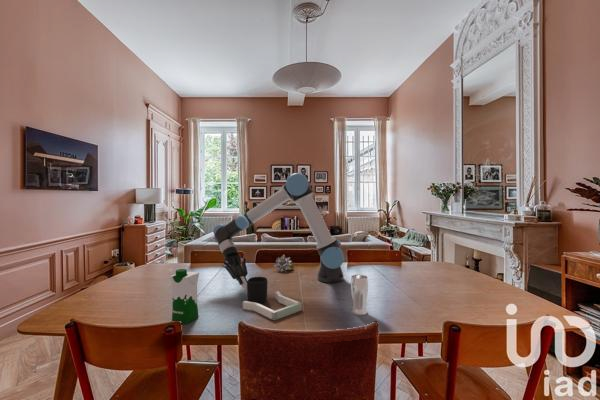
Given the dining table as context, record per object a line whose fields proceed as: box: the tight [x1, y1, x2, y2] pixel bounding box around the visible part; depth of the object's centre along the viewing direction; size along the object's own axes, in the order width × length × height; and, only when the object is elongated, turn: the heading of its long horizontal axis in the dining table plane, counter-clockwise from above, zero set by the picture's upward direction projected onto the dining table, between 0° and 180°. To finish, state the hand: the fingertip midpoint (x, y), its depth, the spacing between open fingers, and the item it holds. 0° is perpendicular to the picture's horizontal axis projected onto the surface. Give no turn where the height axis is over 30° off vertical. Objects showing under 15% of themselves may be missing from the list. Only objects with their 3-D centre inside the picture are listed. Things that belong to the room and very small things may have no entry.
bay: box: [242, 290, 303, 321], centre depth 126 cm, size 19×20×3 cm
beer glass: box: [350, 274, 369, 317], centre depth 121 cm, size 7×7×15 cm
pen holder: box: [247, 276, 268, 305], centre depth 135 cm, size 9×9×10 cm
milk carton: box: [169, 268, 200, 325], centre depth 115 cm, size 9×9×20 cm
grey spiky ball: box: [273, 254, 295, 273], centre depth 191 cm, size 11×11×12 cm
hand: (246, 289), depth 141 cm, fingers closed
